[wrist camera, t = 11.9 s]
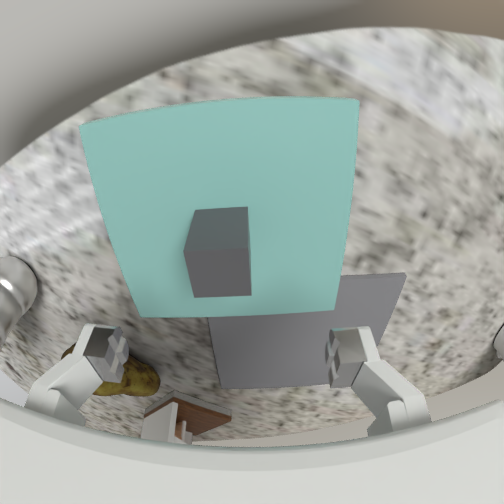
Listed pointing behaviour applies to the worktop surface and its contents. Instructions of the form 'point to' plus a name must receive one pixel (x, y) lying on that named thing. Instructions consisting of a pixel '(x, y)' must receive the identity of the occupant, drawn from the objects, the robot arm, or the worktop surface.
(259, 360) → the mat
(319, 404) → the worktop surface
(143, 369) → the potato
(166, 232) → the lid
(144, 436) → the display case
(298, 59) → the worktop surface
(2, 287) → the plastic bottle
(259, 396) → the worktop surface
